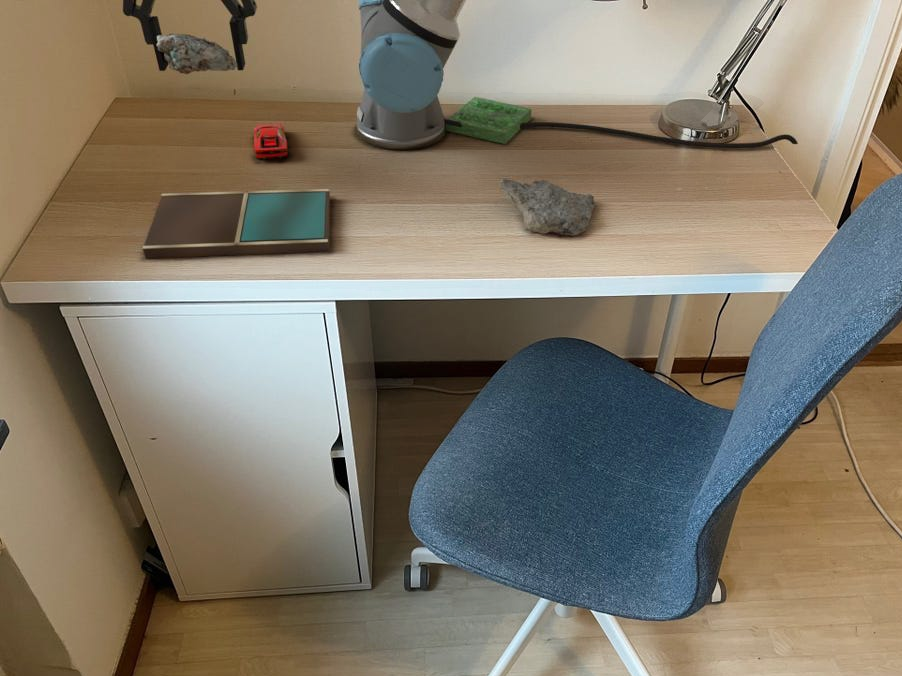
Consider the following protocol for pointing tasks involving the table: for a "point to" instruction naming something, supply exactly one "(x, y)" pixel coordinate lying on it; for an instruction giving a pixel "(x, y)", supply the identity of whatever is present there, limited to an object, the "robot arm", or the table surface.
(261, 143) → the toy car
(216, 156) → the table surface
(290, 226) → the board
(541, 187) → the rock
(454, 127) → the marbled green block
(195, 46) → the mineral specimen
